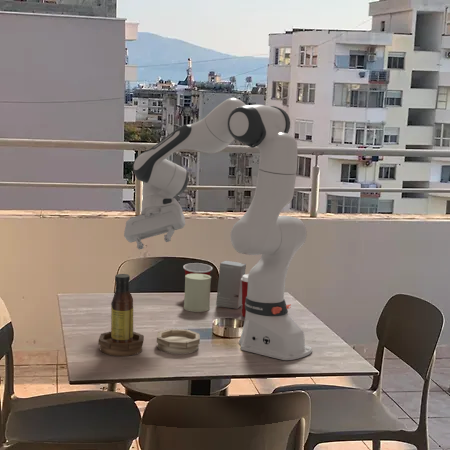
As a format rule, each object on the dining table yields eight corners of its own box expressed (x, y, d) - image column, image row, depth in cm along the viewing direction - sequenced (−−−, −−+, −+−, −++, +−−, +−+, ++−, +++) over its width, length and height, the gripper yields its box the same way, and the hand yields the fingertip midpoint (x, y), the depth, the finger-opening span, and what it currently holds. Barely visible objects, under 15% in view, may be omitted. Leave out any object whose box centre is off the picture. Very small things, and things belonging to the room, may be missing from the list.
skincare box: (215, 306, 258) (218, 263, 256) (221, 302, 265) (223, 259, 263) (238, 309, 256) (241, 265, 254) (244, 304, 263) (246, 262, 260)
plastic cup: (184, 301, 263) (185, 269, 261) (179, 294, 273) (181, 262, 271) (213, 301, 265) (215, 269, 263) (208, 294, 275) (209, 263, 274)
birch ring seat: (207, 348, 213) (208, 336, 213) (177, 357, 204) (177, 345, 204) (178, 337, 222) (179, 326, 221) (148, 346, 213) (148, 334, 212)
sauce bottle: (122, 337, 213) (124, 271, 210) (137, 342, 209) (139, 275, 206) (105, 342, 208) (107, 274, 205) (120, 347, 204) (122, 278, 201)
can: (209, 312, 251) (210, 278, 249) (182, 311, 251) (184, 277, 249) (210, 305, 260) (211, 272, 258) (184, 304, 260) (185, 271, 258)
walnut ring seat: (151, 350, 209) (152, 338, 209) (118, 359, 200) (118, 347, 200) (124, 339, 217) (124, 328, 217) (90, 348, 208) (90, 336, 208)
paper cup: (259, 320, 245) (262, 279, 242) (237, 317, 246) (239, 277, 244) (263, 314, 252) (265, 274, 250) (241, 311, 254) (243, 272, 251)
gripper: (121, 213, 237) (119, 246, 228) (179, 196, 231) (178, 230, 222) (130, 224, 241) (128, 258, 232) (187, 208, 236) (187, 242, 227)
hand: (153, 244), depth 227 cm, fingers open, 8 cm apart
